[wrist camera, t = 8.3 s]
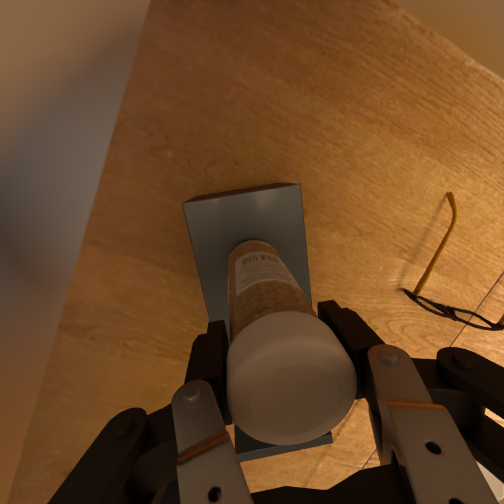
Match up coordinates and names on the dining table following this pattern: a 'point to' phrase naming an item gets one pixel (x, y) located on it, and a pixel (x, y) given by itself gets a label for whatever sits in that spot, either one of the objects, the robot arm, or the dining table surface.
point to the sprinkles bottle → (281, 354)
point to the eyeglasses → (447, 311)
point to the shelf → (227, 239)
